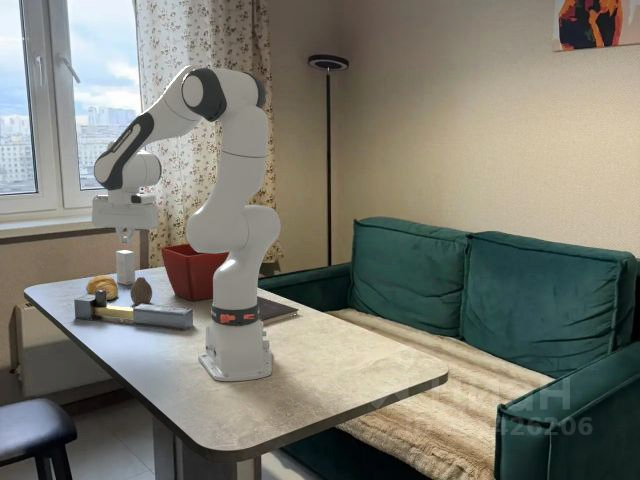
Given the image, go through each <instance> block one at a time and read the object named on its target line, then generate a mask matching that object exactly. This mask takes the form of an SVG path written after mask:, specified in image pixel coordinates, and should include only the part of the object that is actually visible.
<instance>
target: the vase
mask: <svg viewBox="0 0 640 480" xmlns="http://www.w3.org/2000/svg"><path fill="white" fill-rule="evenodd" d="M130 298H131V301H132V303H133V304H134V305H136V306H138V305H140V304H149V303H150V302H151V300H152V299H153V289H152V286H151V285H150V283H149V282H148V281H147V279H146V277H144V276H140V277H136V279H135V283H133V284H132V286H131V288H130Z"/></svg>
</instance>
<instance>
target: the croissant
mask: <svg viewBox="0 0 640 480" xmlns="http://www.w3.org/2000/svg"><path fill="white" fill-rule="evenodd" d="M85 289H86V292H87V294H90V295H95V291H96V290H106V299H107V300H114V299H115V298H116V297H117V295H118V294H119V286H118V285H117V281H115V279H114V278H113V277H111V276H109V275H105V274H99V275H97V276H94V277H92V279H90V280H89V281H88V283H87V284H86V286H85Z"/></svg>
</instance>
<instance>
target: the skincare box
mask: <svg viewBox="0 0 640 480" xmlns="http://www.w3.org/2000/svg"><path fill="white" fill-rule="evenodd" d="M115 259H116V260H115V261H116V263H115V264H116V283H118V284H122V285H124V286H128V285H133V284H134V283H135V282H136V265H135V264H136V263H135V259H136V258H135V251H131V250H126V249H123V250H117V251H115Z"/></svg>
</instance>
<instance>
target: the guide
mask: <svg viewBox="0 0 640 480" xmlns="http://www.w3.org/2000/svg"><path fill="white" fill-rule="evenodd" d="M73 300H74V301H73V302H74V318H75V319H76V320H77V319H78V320H84V321H85V320H87V321H93V320H94V321H95V322H101V323H102V322H104V323H111V324H112V323H113V324H121V325H131V326H137V327H138V326H139V327H145V328H146V327H148V328H154V329H155V328H156V329H164V330H171V331H172V330H173V331H180V332H184V331H187V330H188V329H190V328H191V327H193V325H194V309H193V308H188V307H187V308H185V307H178V306H168V305H167V306H166V305H160V304H159V305H158V304H149V303H148V304H140V305H136V306H135V307H132V308H133V319H125V318H116V317H107V316H98V315H93V304H95V295H90V294H89V293H87V294H83V295H81V296H79V297H77V298H74V299H73ZM94 321H93V322H94Z"/></svg>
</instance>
